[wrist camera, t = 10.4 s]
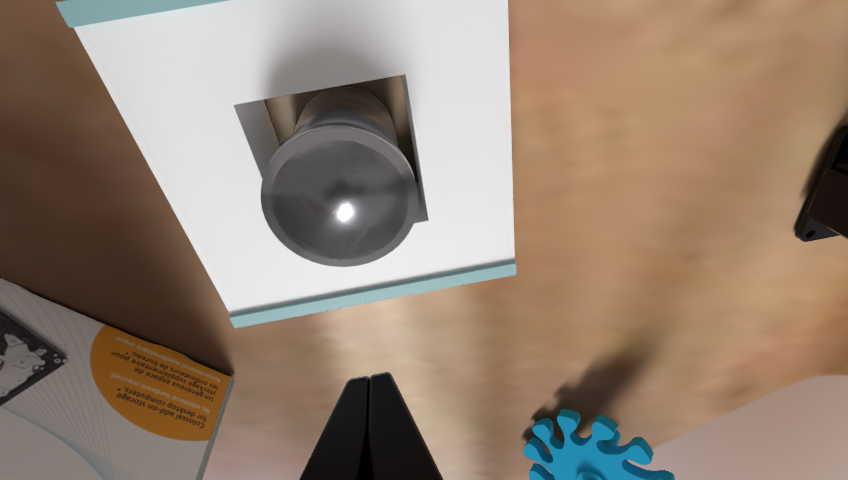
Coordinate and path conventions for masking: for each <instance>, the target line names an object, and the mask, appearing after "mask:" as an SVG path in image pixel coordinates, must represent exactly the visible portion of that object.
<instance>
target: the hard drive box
mask: <svg viewBox="0 0 848 480" xmlns="http://www.w3.org/2000/svg"><path fill="white" fill-rule="evenodd" d="M234 381H235V380H234V379H233V378H232V377H229V376H227V375H225V374H222V373H220V372H218V371H215V370H213V369H210V368H208V367H206V366H203V365H201V364H199V363H196V362H194V361H192V360H191V359H189V358H188V357H187V356H185V355H183V354H181V353H179V352H176V351H174V350H171V349H169V348H166V347H164V346H161V345H156V344H152V343H150V342H147V341H144V340H142V339H139V338H137V337H134V336H132V335H129V334H127V333H125V332H123V331H120V330H118V329H115V328H113V327H110V326H108V325H106V324H103V323H101V322H98V321H96V320H94V319H92V318H88V317H86V316H84V315H82V314H80V313H77V312H75V311H73V310H70V309H68V308H66V307H63V306H61V305H59V304H56V303H54V302H51V301H49V300H46V299H44V298H41V297H39V296H37V295H35V294H33V293H31V292H29V291H28V290H27V289H25V288H23V287H21V286H19V285H16V284H14V283H11V282H9V281H7V280H5V279H2V278H0V480H202V479H203V476H204V473H205V469H206V466H207V463H208V460H209V457H210V454H211V451H212V448H213V445H214V442H215V438H216V435H217V432H218V429H219V426H220V423H221V420H222V417H223V414H224V411H225V408H226V404H227V401H228V399H229V396H230V393H231V390H232V387H233V384H234Z"/></svg>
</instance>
